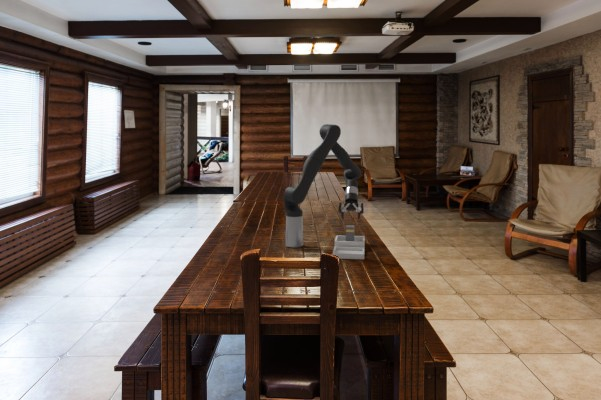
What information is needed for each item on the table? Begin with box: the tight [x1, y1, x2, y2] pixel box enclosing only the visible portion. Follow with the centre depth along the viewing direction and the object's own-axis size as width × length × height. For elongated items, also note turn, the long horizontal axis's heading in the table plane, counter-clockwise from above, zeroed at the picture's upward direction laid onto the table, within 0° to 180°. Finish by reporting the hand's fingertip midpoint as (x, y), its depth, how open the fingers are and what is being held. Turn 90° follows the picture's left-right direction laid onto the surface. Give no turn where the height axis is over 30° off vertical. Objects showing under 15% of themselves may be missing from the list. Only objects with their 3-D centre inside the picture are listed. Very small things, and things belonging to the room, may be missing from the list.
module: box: [345, 224, 355, 241], centre depth 270 cm, size 4×5×11 cm
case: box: [334, 235, 366, 249], centre depth 270 cm, size 16×16×5 cm
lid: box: [332, 246, 365, 260], centre depth 256 cm, size 16×14×2 cm
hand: (350, 218), depth 278 cm, fingers open, 8 cm apart
